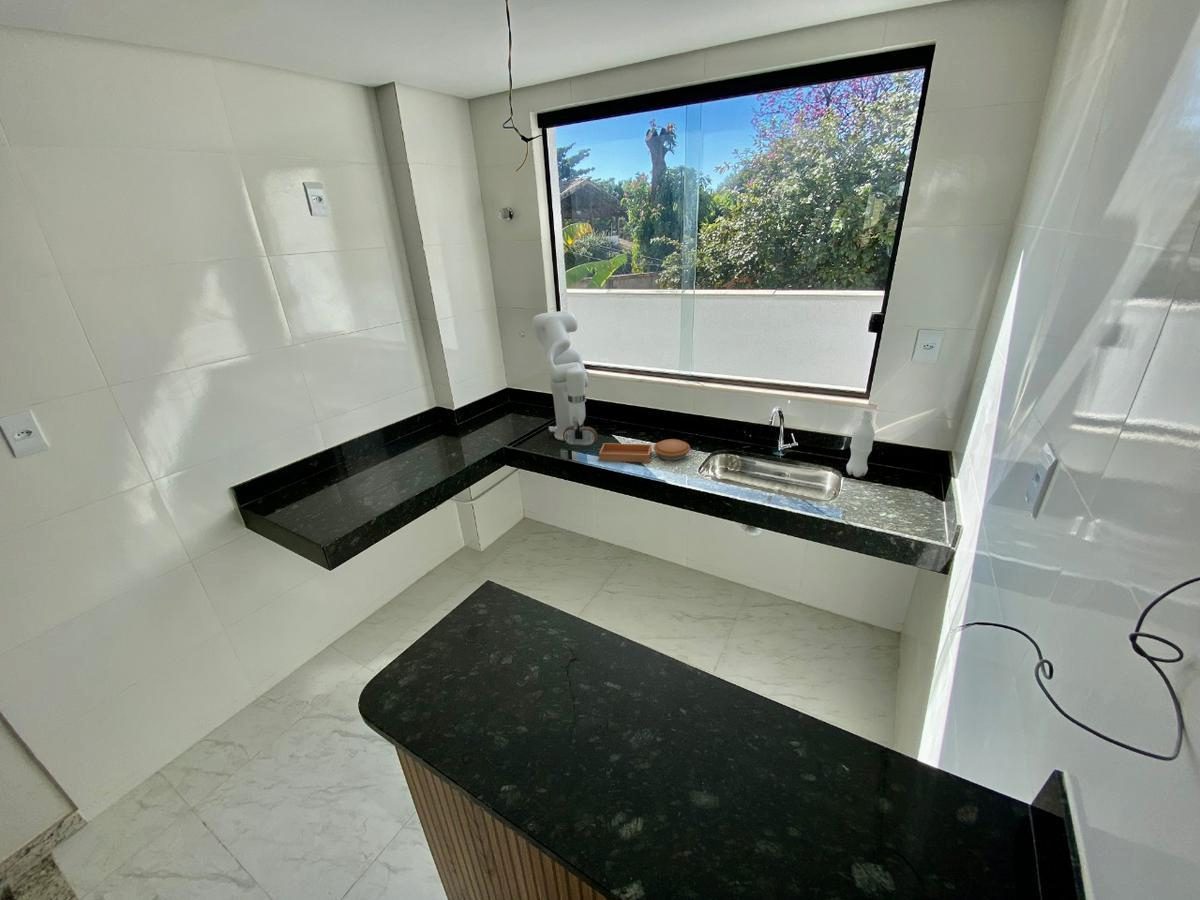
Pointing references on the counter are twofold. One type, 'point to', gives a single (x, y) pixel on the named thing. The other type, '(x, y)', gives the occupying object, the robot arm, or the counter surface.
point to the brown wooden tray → (625, 452)
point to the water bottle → (861, 446)
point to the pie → (672, 449)
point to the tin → (587, 433)
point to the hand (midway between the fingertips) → (579, 436)
